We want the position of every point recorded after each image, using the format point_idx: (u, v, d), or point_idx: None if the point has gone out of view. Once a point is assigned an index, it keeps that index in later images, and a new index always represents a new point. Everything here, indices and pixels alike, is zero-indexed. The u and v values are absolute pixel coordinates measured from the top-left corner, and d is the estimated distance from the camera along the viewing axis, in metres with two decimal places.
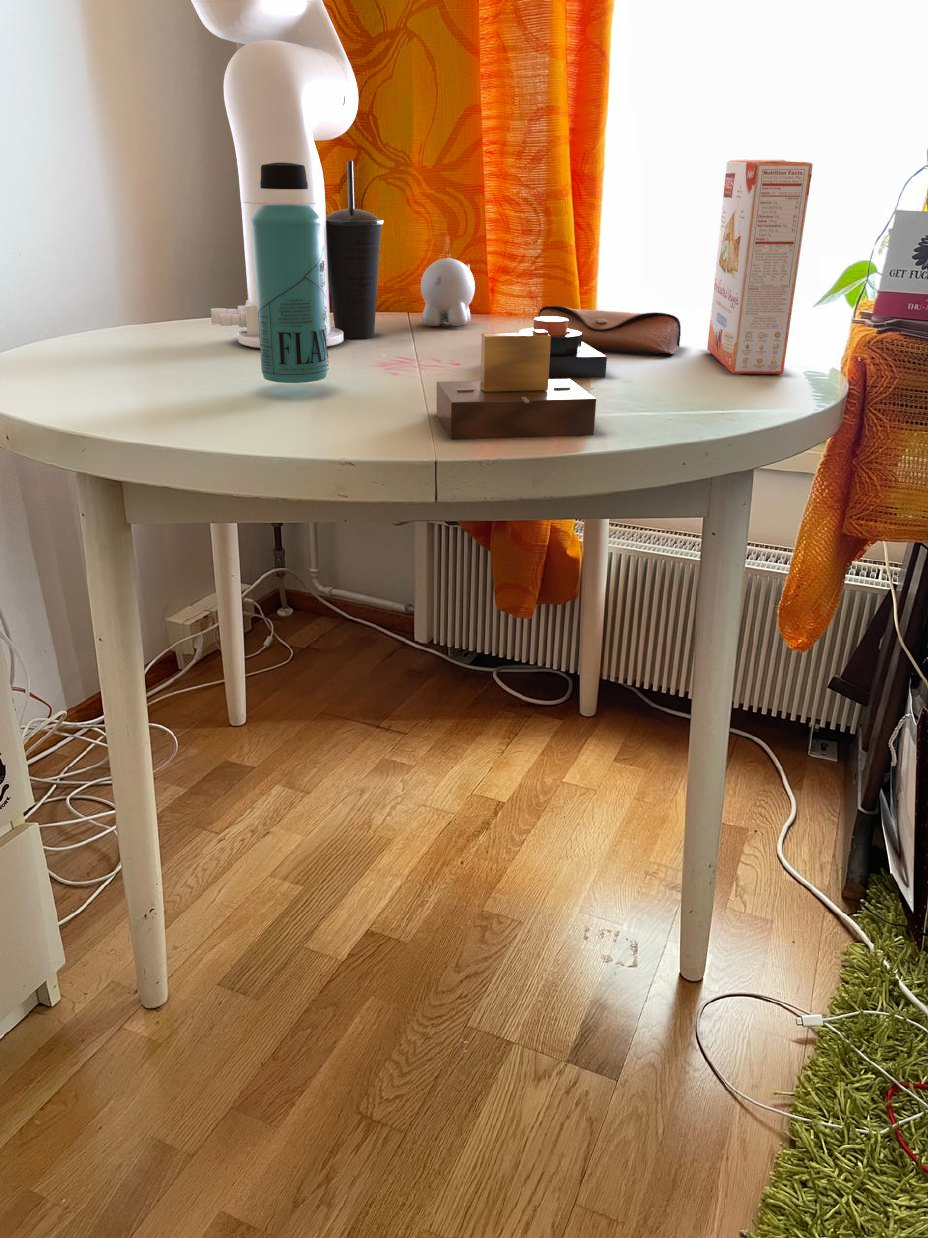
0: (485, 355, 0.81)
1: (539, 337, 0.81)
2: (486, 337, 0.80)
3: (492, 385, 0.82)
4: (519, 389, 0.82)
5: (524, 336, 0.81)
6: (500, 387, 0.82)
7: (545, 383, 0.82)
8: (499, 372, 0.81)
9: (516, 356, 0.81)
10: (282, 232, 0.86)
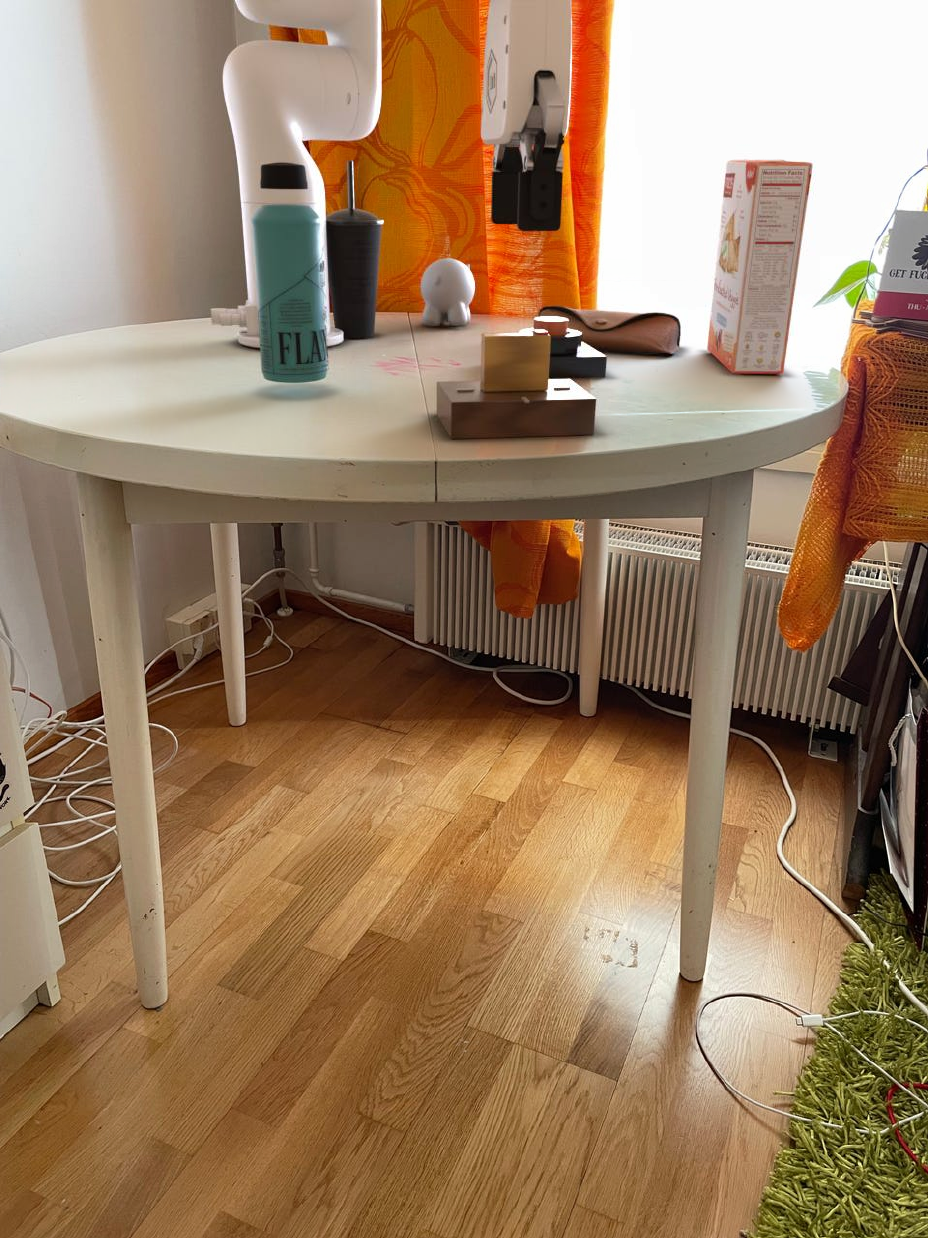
0: (485, 355, 0.81)
1: (539, 337, 0.81)
2: (486, 337, 0.80)
3: (492, 385, 0.82)
4: (519, 389, 0.82)
5: (524, 336, 0.81)
6: (500, 387, 0.82)
7: (545, 383, 0.82)
8: (499, 372, 0.81)
9: (516, 356, 0.81)
10: (282, 232, 0.86)
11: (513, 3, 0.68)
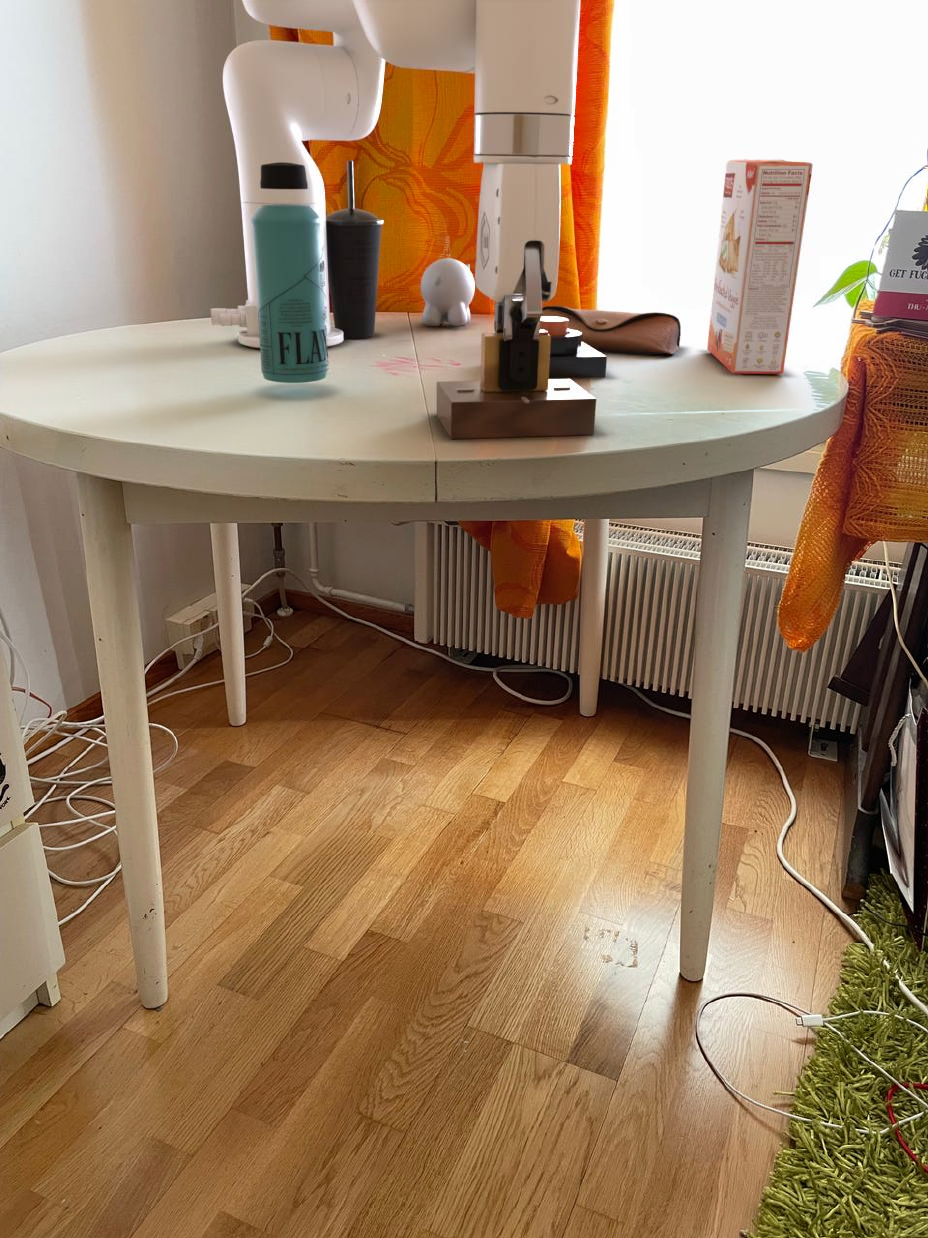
0: (485, 355, 0.81)
1: (539, 337, 0.81)
2: (486, 337, 0.80)
3: (492, 385, 0.82)
4: None
5: None
6: None
7: (545, 383, 0.82)
8: None
9: None
10: (282, 232, 0.86)
11: (505, 180, 0.72)
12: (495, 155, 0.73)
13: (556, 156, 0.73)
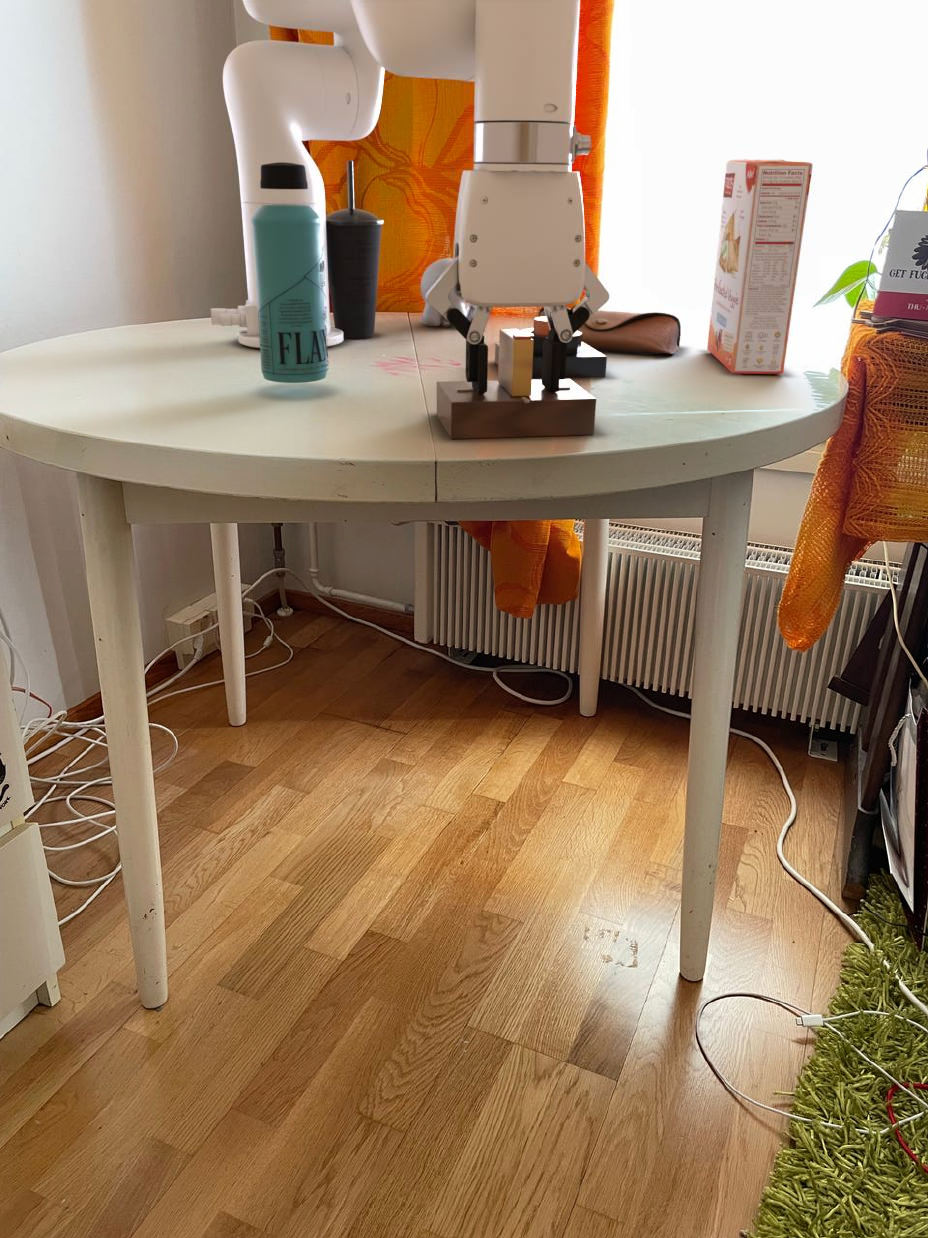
0: (499, 347, 0.84)
1: (511, 340, 0.79)
2: None
3: (499, 378, 0.85)
4: (505, 388, 0.83)
5: (508, 336, 0.81)
6: (501, 381, 0.84)
7: (511, 388, 0.80)
8: (501, 367, 0.84)
9: (505, 354, 0.82)
10: (282, 232, 0.86)
11: None
12: None
13: (486, 163, 0.73)
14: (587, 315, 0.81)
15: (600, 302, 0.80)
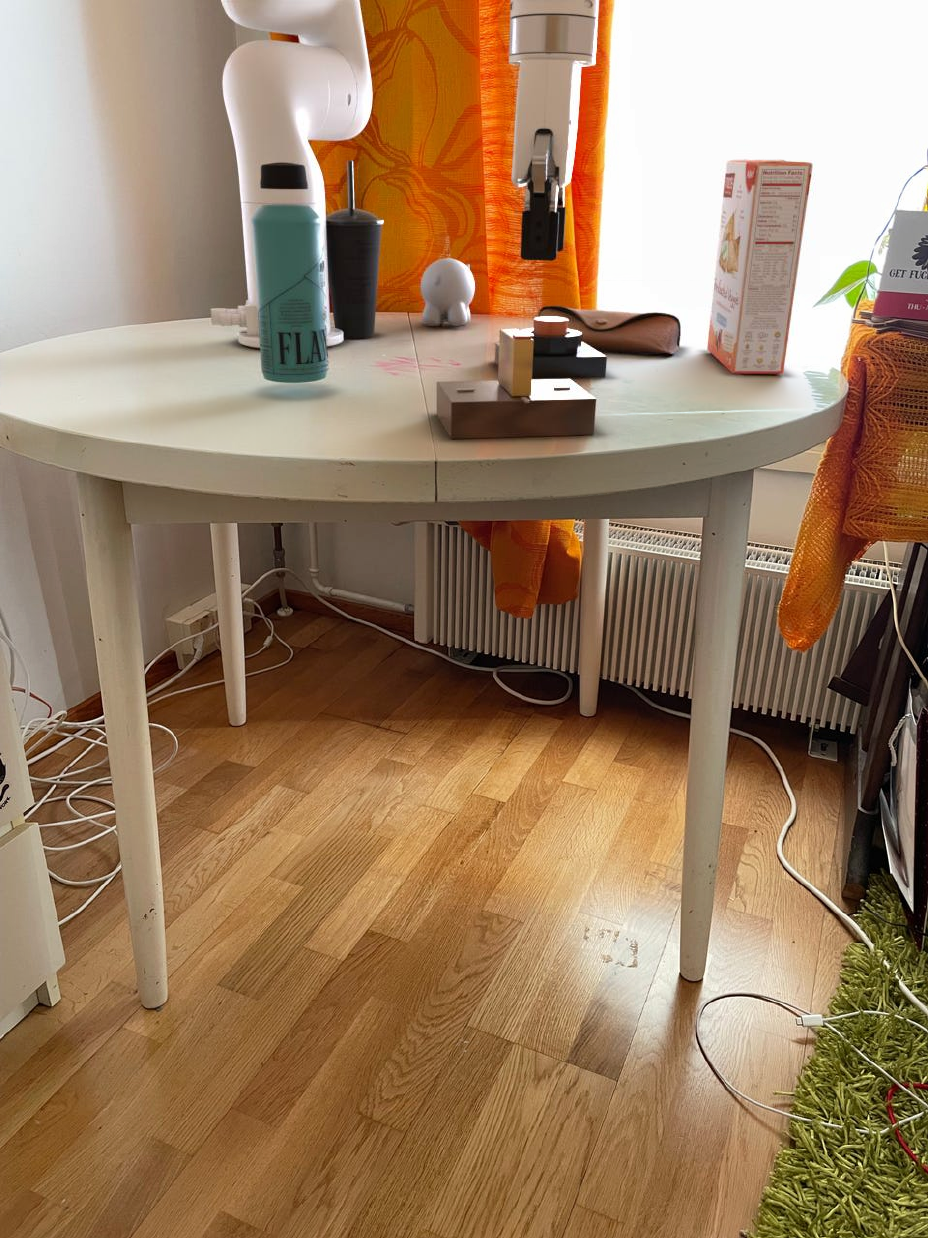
0: (499, 347, 0.84)
1: (511, 340, 0.79)
2: None
3: (499, 378, 0.85)
4: (505, 388, 0.83)
5: (508, 336, 0.81)
6: (501, 381, 0.84)
7: (511, 388, 0.80)
8: (501, 367, 0.84)
9: (505, 354, 0.82)
10: (282, 232, 0.86)
11: (521, 74, 0.83)
12: (518, 54, 0.84)
13: (571, 53, 0.83)
14: None
15: None
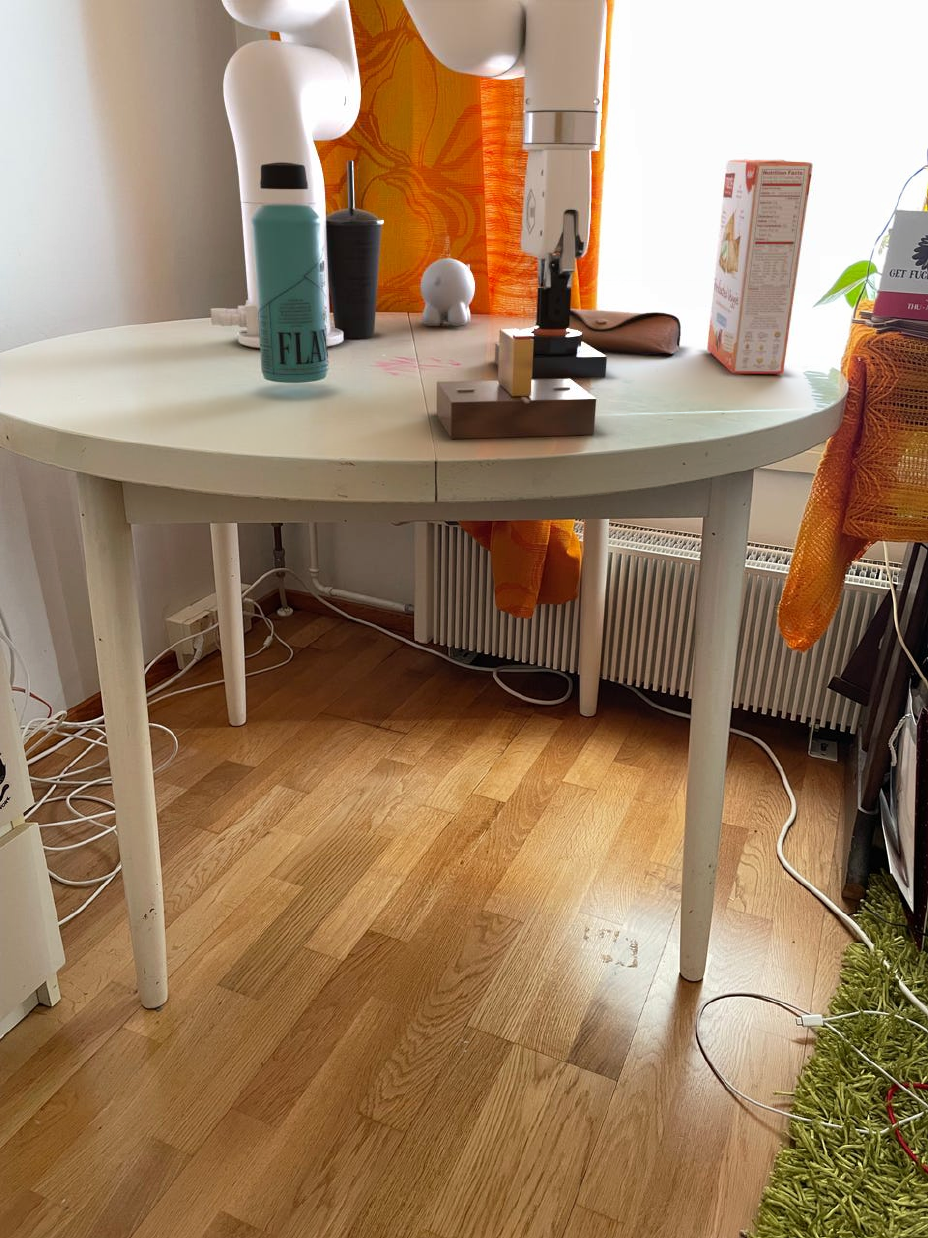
0: (499, 347, 0.84)
1: (511, 340, 0.79)
2: None
3: (499, 378, 0.85)
4: (505, 388, 0.83)
5: (508, 336, 0.81)
6: (501, 381, 0.84)
7: (511, 388, 0.80)
8: (501, 367, 0.84)
9: (505, 354, 0.82)
10: (282, 232, 0.86)
11: (548, 163, 0.94)
12: (540, 143, 0.94)
13: (587, 144, 0.94)
14: None
15: None
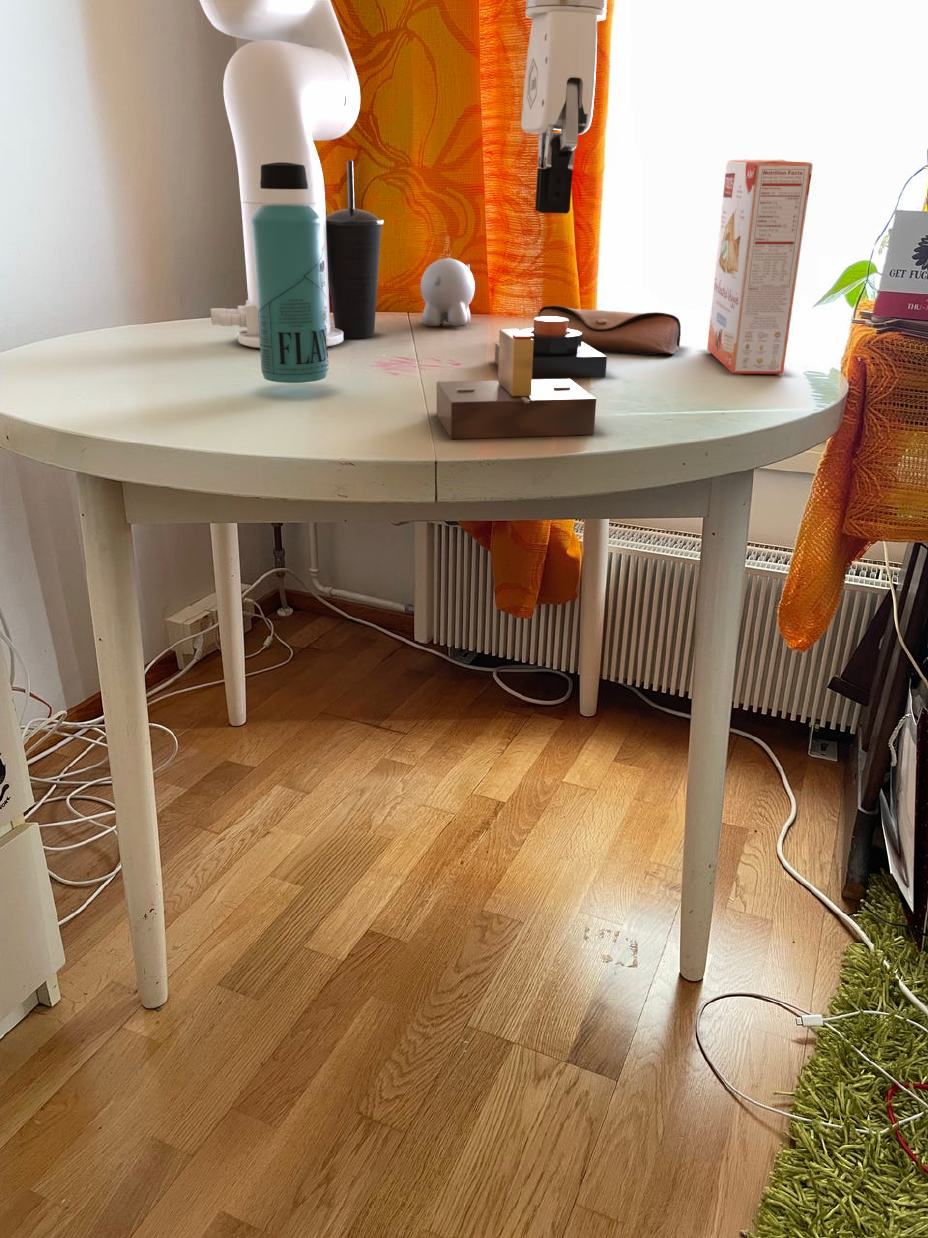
0: (499, 347, 0.84)
1: (511, 340, 0.79)
2: None
3: (499, 378, 0.85)
4: (505, 388, 0.83)
5: (508, 336, 0.81)
6: (501, 381, 0.84)
7: (511, 388, 0.80)
8: (501, 367, 0.84)
9: (505, 354, 0.82)
10: (282, 232, 0.86)
11: (552, 25, 0.89)
12: (545, 5, 0.90)
13: (594, 8, 0.90)
14: None
15: None
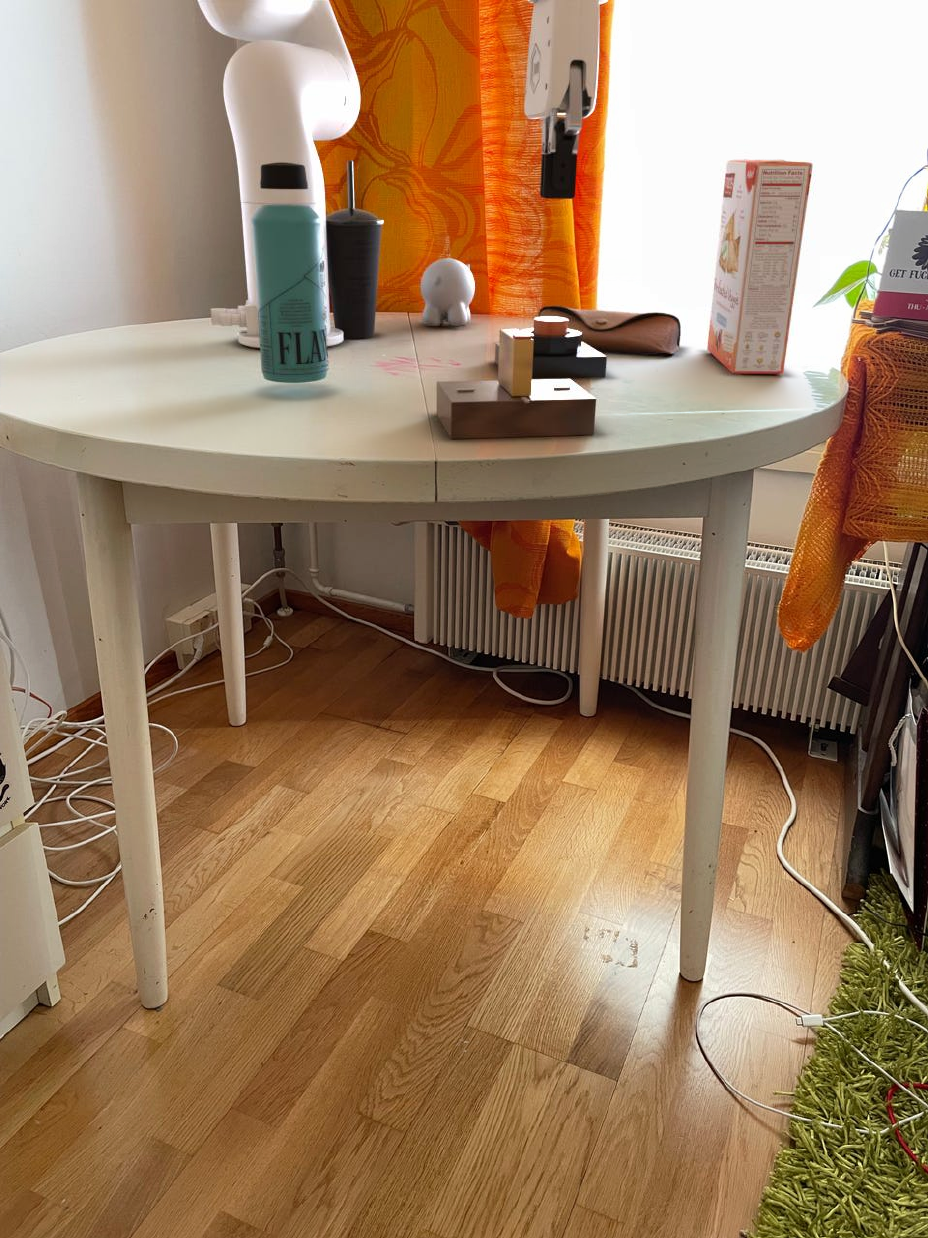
0: (499, 347, 0.84)
1: (511, 340, 0.79)
2: None
3: (499, 378, 0.85)
4: (505, 388, 0.83)
5: (508, 336, 0.81)
6: (501, 381, 0.84)
7: (511, 388, 0.80)
8: (501, 367, 0.84)
9: (505, 354, 0.82)
10: (282, 232, 0.86)
11: (555, 7, 0.88)
12: None
13: None
14: None
15: None
